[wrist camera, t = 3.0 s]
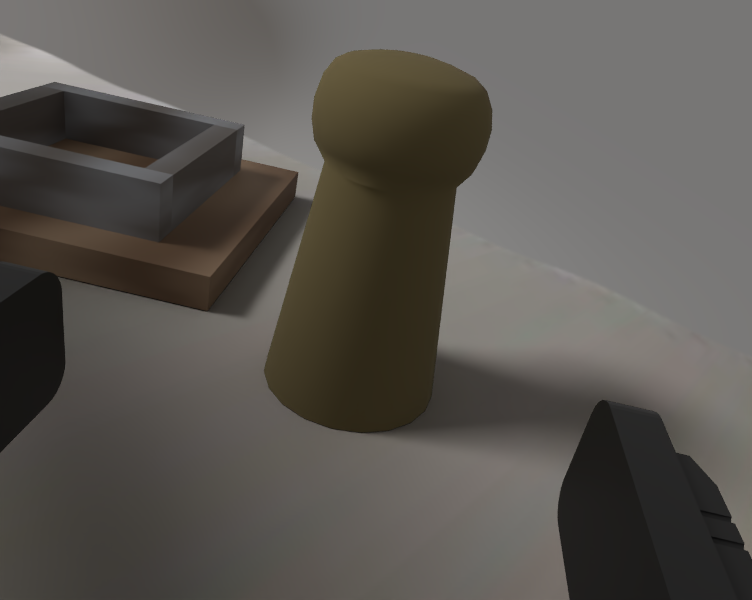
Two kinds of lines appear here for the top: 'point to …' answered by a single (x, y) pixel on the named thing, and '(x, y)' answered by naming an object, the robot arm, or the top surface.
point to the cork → (377, 239)
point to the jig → (131, 194)
